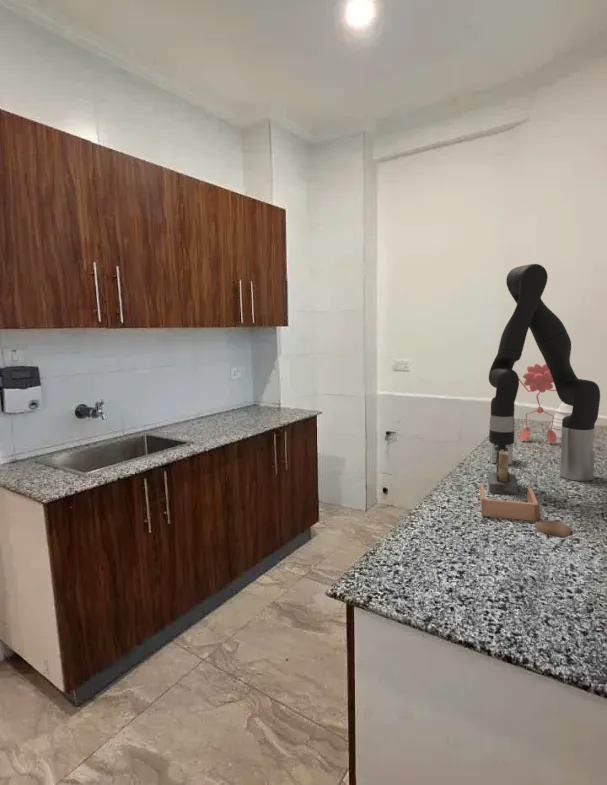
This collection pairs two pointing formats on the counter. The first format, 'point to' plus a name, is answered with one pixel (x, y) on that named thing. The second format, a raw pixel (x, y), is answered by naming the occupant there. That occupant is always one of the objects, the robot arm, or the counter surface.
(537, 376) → the figurine
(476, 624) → the counter surface
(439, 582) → the counter surface
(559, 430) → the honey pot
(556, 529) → the lid
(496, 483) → the mounted wooden block
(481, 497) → the three-sided wooden frame
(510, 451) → the supplement box
